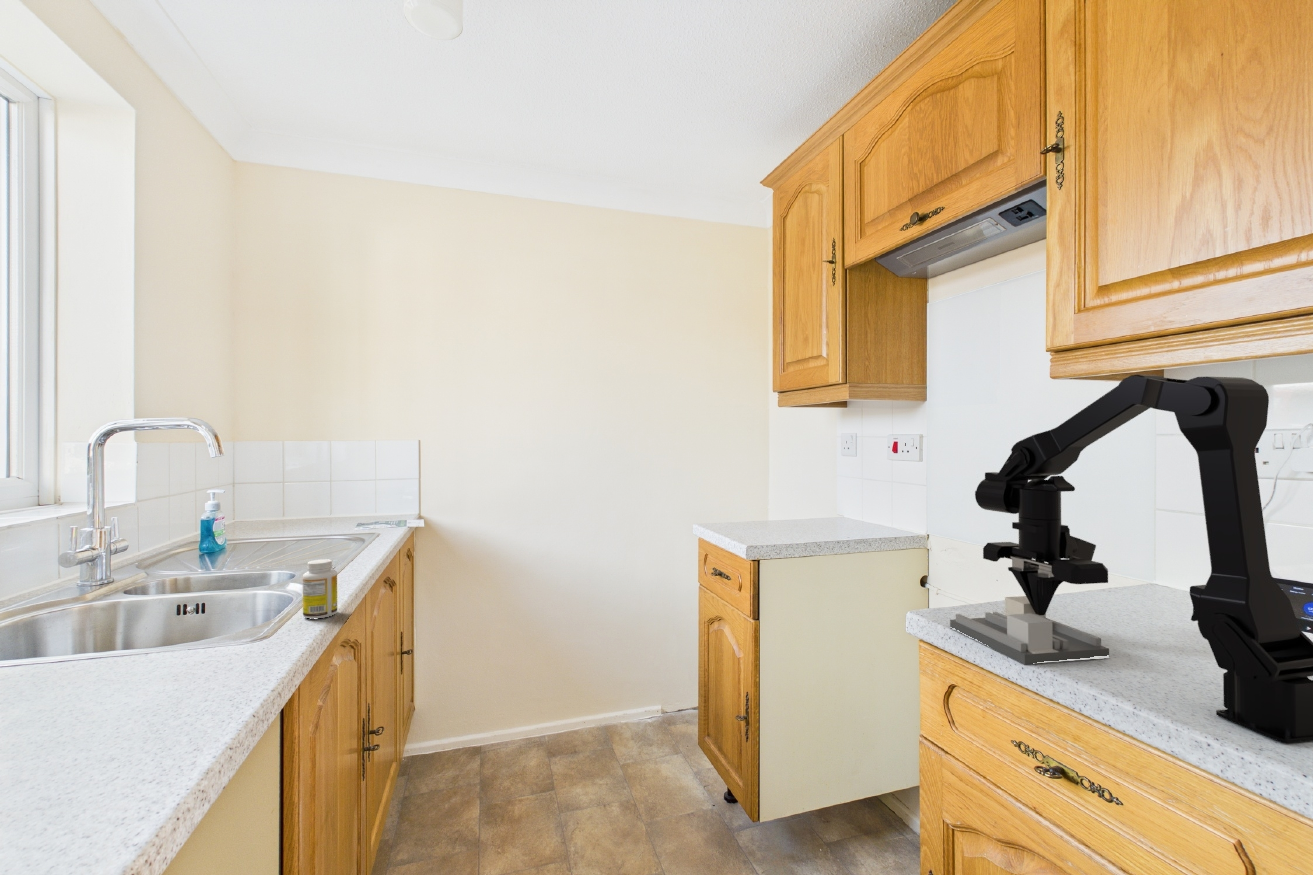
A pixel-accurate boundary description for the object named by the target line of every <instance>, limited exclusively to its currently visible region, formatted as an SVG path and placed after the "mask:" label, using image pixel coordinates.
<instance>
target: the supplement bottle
mask: <svg viewBox="0 0 1313 875" xmlns="http://www.w3.org/2000/svg"><path fill="white" fill-rule="evenodd" d="M337 613H338V571H337V570H336V569H333V560H332V559H328V558H327V559H326V558H322V559H320V558H319V559H313V560H310V561H308V562H307V571H306V572H305V573H303V575H302V617H303V618H304V617H305V618H304V619H306V618H311V619H314V618H323V619H325V618H324V617H328V618H330V617H329V616H331V617H332V615H333V616H335V615H336V614H337ZM334 614H335V615H334Z"/></svg>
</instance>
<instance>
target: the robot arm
mask: <svg viewBox="0 0 1313 875" xmlns="http://www.w3.org/2000/svg"><path fill="white" fill-rule="evenodd" d="M1269 404H1270V400H1269V394H1268V391H1267V389H1266V388H1265V386H1264V385H1262V384H1260V383H1258V382H1256V381H1255V380H1253V379H1251V378H1246V377H1238V376H1237V377H1234V376H1228V377H1227V376H1197V377H1196V376H1195V377H1193V378H1190V379H1178V378H1171V377H1164V376H1161V375H1158V374H1131V375H1129V376H1127V377H1124V378H1123V379H1122V380H1121V381H1120V382H1119V384H1118V385H1117V386H1115V387H1114V388H1112V389H1111V390H1109V391H1107V392H1106V393H1105V394H1103V395H1102V396H1100V397H1099V398H1097V399H1096V400H1095V401H1093V402H1092V403H1090V404H1089V405H1087V406H1086V407H1085V408H1083V409H1081V410H1080V411H1078V412H1077V413H1076V414H1074V415H1073V416H1071V417H1069V418H1068V419H1066V420H1065V421H1063V422H1061V423H1060V425H1058V426H1056V427H1054V428H1051V429H1049V430H1045V431H1042V432H1038V433H1034V434H1032V435H1030V436H1027V437H1024V438H1023V439H1020V440H1019V441H1017V442H1015V444H1014V445H1012V447H1011V449H1010V452H1011V453H1010V454H1009V456H1008V458H1007V459H1006V460H1005V462H1004V464H1003V466H1001V468H1000V469H999V471H998V472H996V471H992V472H985V473H984V479H982V480H981V481H980V482H979V484H978V485H977V487H976V490H975V491H974V497H975V502H976V504H977V505H978V506H979V508H981V509H982V510H985V511H992V512H998V513H1005V514H1006V513H1007V514H1011V515H1012V514H1013V515H1014V514H1015V515H1016V514H1017V515H1018V521H1017V522H1015V521H1014V522H1012V523H1011V524H1012V526H1011V528H1012V529H1014V530H1018V543H1016V542H1013V541H1000V542H998V541H997V542H996V541H994V542H987V543H986V544H985V545H984V547H983V548H982V551H983V552H982V558H983V559H984V560H987V561H990V562H998V561H999V560H1001V559H1008V560H1011V566H1009V567H1007V570H1008V571H1009V572H1011V573H1012V575H1013V576H1014V578H1015V580H1016V581H1017V583H1018V585H1019V587H1021V590H1022V591H1023V593H1024V596H1026V597H1027V599H1028V601H1029V602H1030V604H1031V606H1032V608H1033V610H1034V612H1035V614H1037V615H1045V614H1047V611H1048V609H1049V606H1050V605H1051V602H1052V600H1053V597H1054V595H1055V593H1056V591H1057V590H1058V588H1059V586H1060V585H1061V584H1063V583H1068V584H1072V585H1089V584H1090V585H1091V584H1109V569H1108V568H1107V567H1106V566H1105V565H1104V563H1102V562H1099V561H1096V560H1095V561H1093V557H1094V554H1095V551H1096V549H1097V545H1096V544H1095V543H1092V542H1090V541H1087V540H1084V539H1081V538H1079V537H1075V536H1072V535H1071V534H1070V532H1071V531H1070V530H1071V529H1070V527H1069V525H1066V524H1062V492H1064V493H1065V492H1074V491H1076V488H1075V487H1076V486H1074V485H1073V484H1072V483H1070V482H1068V480H1066V479H1065V477H1064V476H1062V475H1061V474H1063V473H1064V472H1066V471H1067V470H1068V469H1069V468H1071V466H1072V465H1073V464H1074V463H1076V462H1077V461H1078V460H1079V457H1080V455H1081V452H1082V451H1084V450H1085V449H1086V448H1087V447H1088V446H1090V445H1092V444H1094V443H1095V442H1097V441H1098V440H1100V439H1102V438H1103V437H1104V436H1106V435H1108V434H1110V433H1112V432H1113V431H1114V430H1116V429H1118V428H1120V427H1121V426H1123V425H1125V424H1126V423H1128V422H1130V421H1131V420H1133V419H1134V418H1136V417H1138V416H1139V415H1141V414H1142V413H1144V412H1145V411H1147V410H1149V409H1153V410H1154V409H1155V410H1159V411H1165V412H1170V413H1174V416H1175V418H1176V422H1177V425H1178V428H1179V431H1180V432H1181V433H1182V435H1183V436H1184V437H1185V439H1186V440H1187V441H1188V442H1189V443H1190V445H1191V446H1192V447H1193V449H1194V451H1195V452H1196V455H1197V459H1198V460H1197V461H1198V469H1199V470H1198V471H1199V477H1200V478H1199V479H1200V486H1201V493H1202V502H1203V511H1204V512H1203V513H1204V518H1205V519H1204V520H1205V527H1206V528H1205V529H1206V534H1207V535H1206V536H1207V537H1206V538H1207V543H1208V553H1209V560H1210V570H1211V571H1210V574H1209V577H1208V579H1207V581H1206V582H1205V584H1199V585H1198V584H1196V585H1191V586H1190V587H1189V596H1190V599H1191V604H1192V607H1193V608H1192V615H1191V618H1190V620H1191V621H1192V622H1196V621H1197V627H1198V631H1199V633H1200V635H1201V636H1202V638H1203V639H1204V640H1207V642H1208V644H1209V646H1210V649H1211V651H1212V654H1213V657H1214V659H1215V661H1216V664H1217V666H1218V667H1219V668H1220V669H1222V670H1225V671H1226V672H1223V677H1222V678H1223V682H1222V683H1223V685H1222V686H1223V689H1222V690H1223V694H1222V695H1223V707H1224V708H1225V709H1218V710H1216V711H1215V714H1216V716H1217V715H1218V716H1217V717H1220V718H1222V719H1224V720H1227V721H1229V722H1232V723H1234V724H1236V725H1238V726H1242V727H1243V728H1246V729H1248V730H1250V731H1253V732H1255V733H1258V734H1259V735H1262V736H1265V737H1267V738H1269V739H1272V740H1274V741H1277V742H1279V743H1283V744H1293V743H1301V742H1310V741H1313V679H1310V678H1309V677H1313V641H1312V640H1311V639H1310V638H1309V637H1308V636H1307V635H1306V633H1304V632H1303V631H1302V630H1301V629H1300V625H1299V623H1298V620H1297V616H1296V614H1295V611H1294V608H1293V606H1292V603H1291V599H1290V598H1289V597H1288V595H1287V594H1286V593H1285V591H1284V590H1283V589H1282V588H1281V587H1280V585H1279V584H1278V582H1277V581H1276V580H1275V578H1274V577H1273V575H1272V572H1271V570H1270V568H1271V567H1270V561H1269V553H1268V545H1267V536H1266V530H1265V523H1264V522H1265V521H1264V515H1263V514H1264V512H1263V507H1262V499H1261V492H1260V485H1259V484H1260V483H1259V476H1258V469H1257V462H1256V447H1257V446H1258V443H1260V442H1259V441H1260V439H1261V438H1262V435H1263V433H1264V432H1265V429H1266V428H1267V424H1268V414H1269Z"/></svg>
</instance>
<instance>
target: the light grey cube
mask: <svg viewBox="0 0 1313 875" xmlns="http://www.w3.org/2000/svg"><path fill="white" fill-rule="evenodd" d="M1007 635H1008V636H1011V637H1013V638H1015V639H1017V640H1020V641H1022V642H1024V643H1026V650H1028V651H1031V650H1045V649H1053V641H1052V621H1049V620H1047V619H1044V618H1041V617H1039V616H1036V615H1033V614H1031V613H1028V614H1011V615H1007Z"/></svg>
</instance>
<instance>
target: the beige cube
mask: <svg viewBox="0 0 1313 875" xmlns="http://www.w3.org/2000/svg"><path fill="white" fill-rule="evenodd" d="M1028 613H1031V614H1033V615H1036V616H1039V617H1041V618H1044V619H1046V618H1047V617H1046V614H1047V613H1046V614H1045V615H1037V614H1035V612H1034V610H1033V608H1032V606H1031V604H1030V602H1029V601H1028V599H1027V597H1026V595H1022V596H1021V595H1020V596H1005V597H1004V615H1006V616H1007V615H1011V614H1028Z"/></svg>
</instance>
